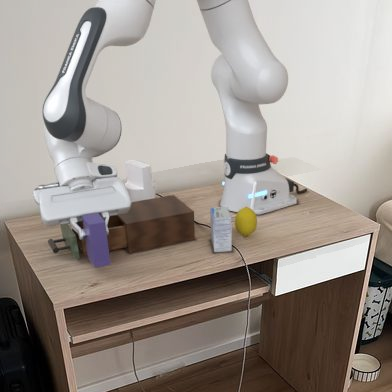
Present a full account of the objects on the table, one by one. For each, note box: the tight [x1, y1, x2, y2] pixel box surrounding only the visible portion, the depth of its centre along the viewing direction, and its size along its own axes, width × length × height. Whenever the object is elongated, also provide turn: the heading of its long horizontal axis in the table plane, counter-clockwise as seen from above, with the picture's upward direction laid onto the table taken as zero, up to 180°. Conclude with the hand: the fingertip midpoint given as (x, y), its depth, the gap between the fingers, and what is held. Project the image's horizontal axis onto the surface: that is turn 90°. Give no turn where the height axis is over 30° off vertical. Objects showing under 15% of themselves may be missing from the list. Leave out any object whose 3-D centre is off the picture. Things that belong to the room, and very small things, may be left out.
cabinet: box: [116, 194, 196, 254], centre depth 138 cm, size 18×14×8 cm
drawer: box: [47, 215, 128, 260], centre depth 133 cm, size 21×12×6 cm, turn 114°
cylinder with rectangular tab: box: [124, 158, 157, 202], centre depth 157 cm, size 9×9×12 cm
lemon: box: [234, 207, 258, 238], centre depth 136 cm, size 6×6×8 cm
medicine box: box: [209, 206, 233, 253], centre depth 132 cm, size 8×4×9 cm, turn 5°
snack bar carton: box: [82, 213, 111, 269], centre depth 119 cm, size 4×6×10 cm, turn 24°
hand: (94, 236), depth 120 cm, fingers closed on snack bar carton, 3 cm apart
